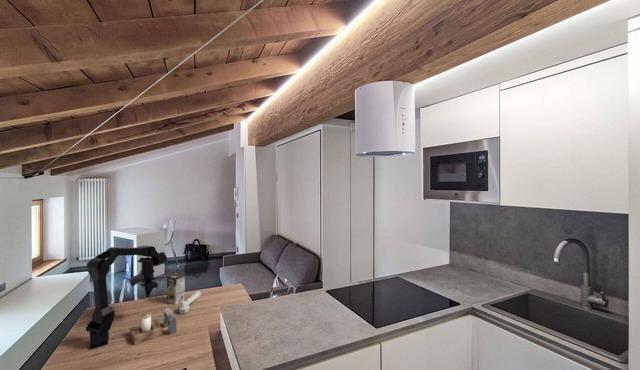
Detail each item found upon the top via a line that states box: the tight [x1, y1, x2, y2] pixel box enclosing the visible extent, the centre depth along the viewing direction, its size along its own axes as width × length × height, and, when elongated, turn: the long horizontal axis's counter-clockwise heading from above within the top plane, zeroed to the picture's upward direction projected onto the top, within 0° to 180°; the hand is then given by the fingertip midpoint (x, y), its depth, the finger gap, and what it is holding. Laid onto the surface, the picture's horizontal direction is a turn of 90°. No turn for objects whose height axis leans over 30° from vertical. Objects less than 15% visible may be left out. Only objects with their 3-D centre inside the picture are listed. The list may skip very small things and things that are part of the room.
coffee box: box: [166, 273, 186, 306], centre depth 174 cm, size 9×6×16 cm
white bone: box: [178, 290, 202, 315], centre depth 170 cm, size 5×7×25 cm
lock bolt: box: [164, 307, 174, 317], centre depth 143 cm, size 2×6×2 cm, turn 43°
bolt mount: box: [162, 311, 177, 336], centre depth 142 cm, size 3×12×7 cm, turn 43°
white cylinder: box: [140, 312, 152, 333], centre depth 137 cm, size 4×4×10 cm
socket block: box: [129, 320, 163, 346], centre depth 137 cm, size 12×12×3 cm
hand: (147, 296), depth 152 cm, fingers closed
